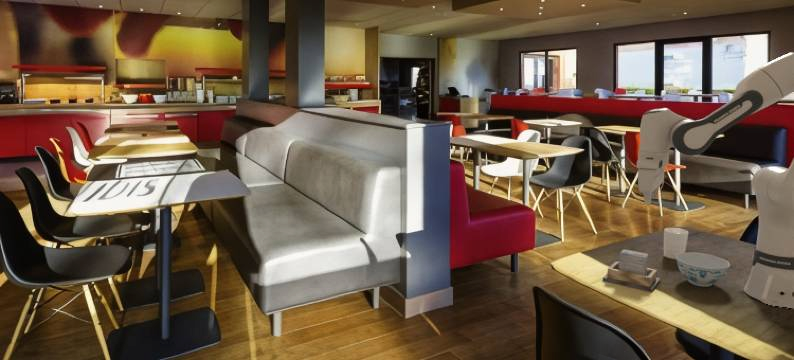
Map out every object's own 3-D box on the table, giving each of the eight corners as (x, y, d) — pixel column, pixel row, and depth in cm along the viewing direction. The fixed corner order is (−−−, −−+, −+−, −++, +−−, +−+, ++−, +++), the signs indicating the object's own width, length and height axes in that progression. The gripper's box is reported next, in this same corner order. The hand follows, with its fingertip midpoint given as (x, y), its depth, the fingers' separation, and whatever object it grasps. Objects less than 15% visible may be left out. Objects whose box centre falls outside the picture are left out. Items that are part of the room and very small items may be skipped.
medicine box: (646, 278, 171) (648, 253, 170) (643, 283, 168) (645, 257, 166) (621, 273, 176) (623, 248, 174) (617, 277, 173) (619, 252, 171)
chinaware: (708, 273, 178) (710, 252, 177) (737, 291, 164) (741, 268, 162) (664, 274, 178) (667, 252, 176) (690, 292, 163) (693, 269, 162)
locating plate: (660, 281, 172) (661, 269, 171) (651, 291, 164) (653, 279, 163) (612, 270, 181) (613, 259, 180) (602, 280, 173) (603, 269, 172)
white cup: (689, 260, 191) (692, 233, 189) (667, 260, 191) (670, 233, 189) (678, 252, 199) (681, 227, 197) (657, 252, 199) (660, 227, 197)
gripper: (650, 154, 179) (647, 193, 182) (635, 163, 163) (632, 206, 166) (670, 155, 175) (667, 195, 178) (657, 164, 159) (654, 209, 162)
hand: (650, 201), depth 172 cm, fingers open, 8 cm apart
